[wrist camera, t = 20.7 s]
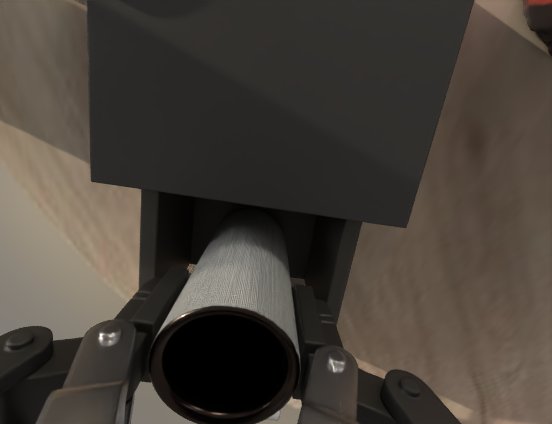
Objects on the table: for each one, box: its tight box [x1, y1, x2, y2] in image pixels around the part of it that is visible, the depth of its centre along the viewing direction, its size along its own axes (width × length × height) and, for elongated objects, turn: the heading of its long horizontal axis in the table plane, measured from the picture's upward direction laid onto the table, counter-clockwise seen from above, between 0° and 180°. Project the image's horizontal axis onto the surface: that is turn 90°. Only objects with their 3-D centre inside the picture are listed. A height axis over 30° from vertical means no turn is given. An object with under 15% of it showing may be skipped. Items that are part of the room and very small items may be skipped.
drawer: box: [139, 189, 362, 421], centre depth 17 cm, size 19×12×8 cm, turn 171°
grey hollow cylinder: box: [148, 209, 301, 424], centre depth 13 cm, size 4×4×10 cm
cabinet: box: [87, 0, 474, 228], centre depth 14 cm, size 15×13×10 cm
